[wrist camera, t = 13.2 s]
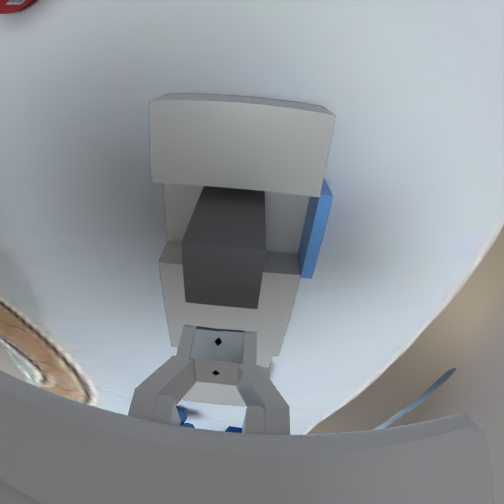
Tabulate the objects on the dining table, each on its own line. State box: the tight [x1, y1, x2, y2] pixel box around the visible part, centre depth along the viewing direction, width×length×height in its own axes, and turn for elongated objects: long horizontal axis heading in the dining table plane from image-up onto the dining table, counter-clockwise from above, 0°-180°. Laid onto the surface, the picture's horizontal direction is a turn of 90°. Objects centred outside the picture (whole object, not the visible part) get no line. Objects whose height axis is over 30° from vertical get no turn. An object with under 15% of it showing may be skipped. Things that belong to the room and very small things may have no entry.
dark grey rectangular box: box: [181, 186, 266, 309], centre depth 18 cm, size 4×4×7 cm
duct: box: [149, 94, 335, 407], centre depth 25 cm, size 11×34×4 cm, turn 175°
